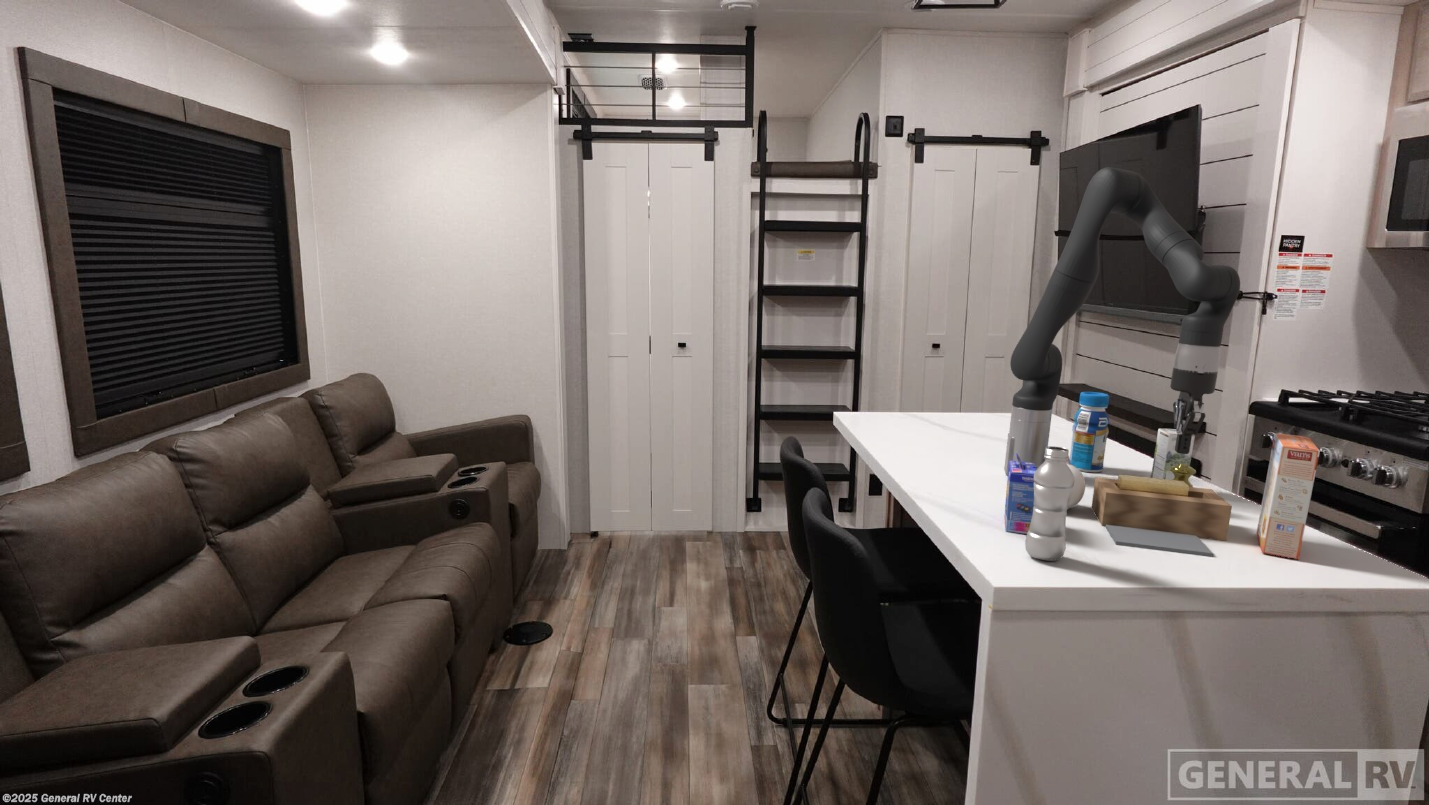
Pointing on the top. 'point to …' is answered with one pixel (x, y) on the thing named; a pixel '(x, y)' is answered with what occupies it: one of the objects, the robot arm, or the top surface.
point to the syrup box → (1168, 454)
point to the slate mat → (1158, 540)
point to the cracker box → (1287, 495)
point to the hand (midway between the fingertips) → (1181, 452)
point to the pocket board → (1162, 510)
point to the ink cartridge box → (1019, 496)
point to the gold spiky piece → (1182, 473)
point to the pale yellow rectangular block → (1152, 485)
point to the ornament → (1076, 486)
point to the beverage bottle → (1090, 432)
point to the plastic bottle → (1050, 506)
